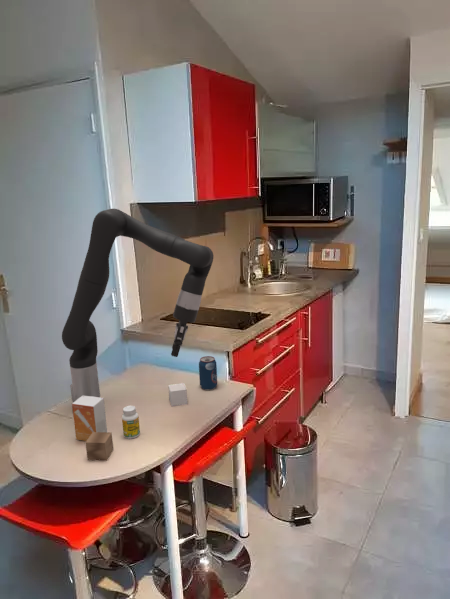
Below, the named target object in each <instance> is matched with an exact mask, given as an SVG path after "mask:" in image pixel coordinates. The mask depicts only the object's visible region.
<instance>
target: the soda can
mask: <svg viewBox="0 0 450 599" xmlns="http://www.w3.org/2000/svg"><path fill="white" fill-rule="evenodd" d="M217 367H218V366H217V361H216V358H215V357H214V356H210V355H206V356H201V358H200V359H199V362H198V371H199V372H198V374H199V375H198V376H199V386H200V388H201V389H202V390H205V391H210V390H211V391H212V390H214V389H216V388H217V386H218V373H217V372H218V370H217V369H218V368H217Z"/></svg>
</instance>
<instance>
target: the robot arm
mask: <svg viewBox="0 0 450 599" xmlns="http://www.w3.org/2000/svg"><path fill="white" fill-rule="evenodd" d="M117 237H126V238H130V239H133V240H136V241H139V242H141V243H142V244H144V245H145V246H147V247H148V248H150V249H151V250H153V251H156V253H157V252H158V253H160V254H162V255H165V256H168V257H169V258H173V259H177V260H179V261H181V262H183V263H186V264H188V265H189V268H188V271H187V272H186V274H185V276H184V277H183V280H182V283H181V284H182V285H181V288H180V290H179V293H178V295H177V300H176V303H175V307H174V311H173V314H172V317H173V318H175V319H176V320H178V322H176V324H175V327H174V328H175V329H174V335H173V338H174V339H173V342H172V343H173V344H172V345H171V346H172V347H171V349H172V350H171V353H170V355H171V357H174V358H177V357H178V356H179V354H180V350H181V347H182V346H183V341H184V340H185V339H186V334H187V333H188V329H189V325H187V324H188V323H191V324H192V323H195V322H196V320H197V316H198V313H199V311H200V310H199V309H200V306H201V302H202V296H203V292H204V289H205V286H206V280H207V277H208V275H209V273H210V270H211V268H212V265H213V261H214V253H213V250H212V249H211V248H210V247H209V246H206V245H202V244H199V243H195V242H192V241H189V240H186V239H184V238H183V237H181V236H179V235H175V234H173V233H170V232H168V231H164V230H161V229H159V228H156V227H154V226H151V225H149V224H147V223H144V222H142V221H140V220H139V219H137V218H135V217H133V216H131V215H129V214H127V213H126V212H124V211H122V210H120V209H119V208H109V209H105V210H104V209H103V210H101V211H99V212H98V213H97V214H96V215H95V217H94V218H93V221H92V225H91V232H90V237H89V238H90V239H89V243H88V249H87V253H86V255H85V258H84V262H83V266H82V269H81V272H80V275H79V278H78V282H77V287H76V291H75V294H74V298H73V301H72V305H71V308H70V311H69V314H68V316H67V318H66V321H65V323H64V327H63V329H62V332H61V339H62V343H63V346H65V348H67V349H68V350H70V351H72V353H71V355H70V357H69V360H68V361H69V367H70V368H69V369H70V376H71V384H70V386H69V387H70V394H71V395H70V396H71V402H72V403H73V402H75V401H76V400H77V399H79V398H80V397H81V396H93V397H100V398H101V392H100V390H101V389H100V381H99V380H100V379H99V373H98V363H97V357H98V337H97V336H98V335H97V330H96V327H95V325H94V324H93V322H92V321H90V320H91V317H92V315H93V313H94V311H95V310H96V308H97V307H98V306H99V304H100V303H101V300H102V299H103V297H104V295H105V292H106V290H107V285H108V282H109V279H110V262H109V261H110V256H111V251H112V249H113V245H114V243H115V241H116V239H117ZM72 403H71V404H72Z"/></svg>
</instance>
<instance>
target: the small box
mask: <svg viewBox="0 0 450 599" xmlns="http://www.w3.org/2000/svg"><path fill="white" fill-rule="evenodd" d="M105 406H106V405H105V398H104V397H101V396H100V397H93V396H81V397H80V398H79V399H77V400H76V401H75V402H73V403H71V407H72V408H71V409H72V414H73V415H72V416H73V424H74V431H75V432H74V433H75V440H77V441H84V442H86V441H87V440H88V438H89V437H90V435H91V434H92V433H93V432H108V428H107V426H108V425H107V424H108V423H107V416H106V407H105Z"/></svg>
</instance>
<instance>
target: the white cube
mask: <svg viewBox="0 0 450 599" xmlns="http://www.w3.org/2000/svg"><path fill="white" fill-rule="evenodd" d="M168 398H169V399H168V400H169V403H170V406H171V407H176V406H184V405H188V391H187V386H186V385H185V383H184V382H180V383H174V384H173V383H172V384H168Z"/></svg>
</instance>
